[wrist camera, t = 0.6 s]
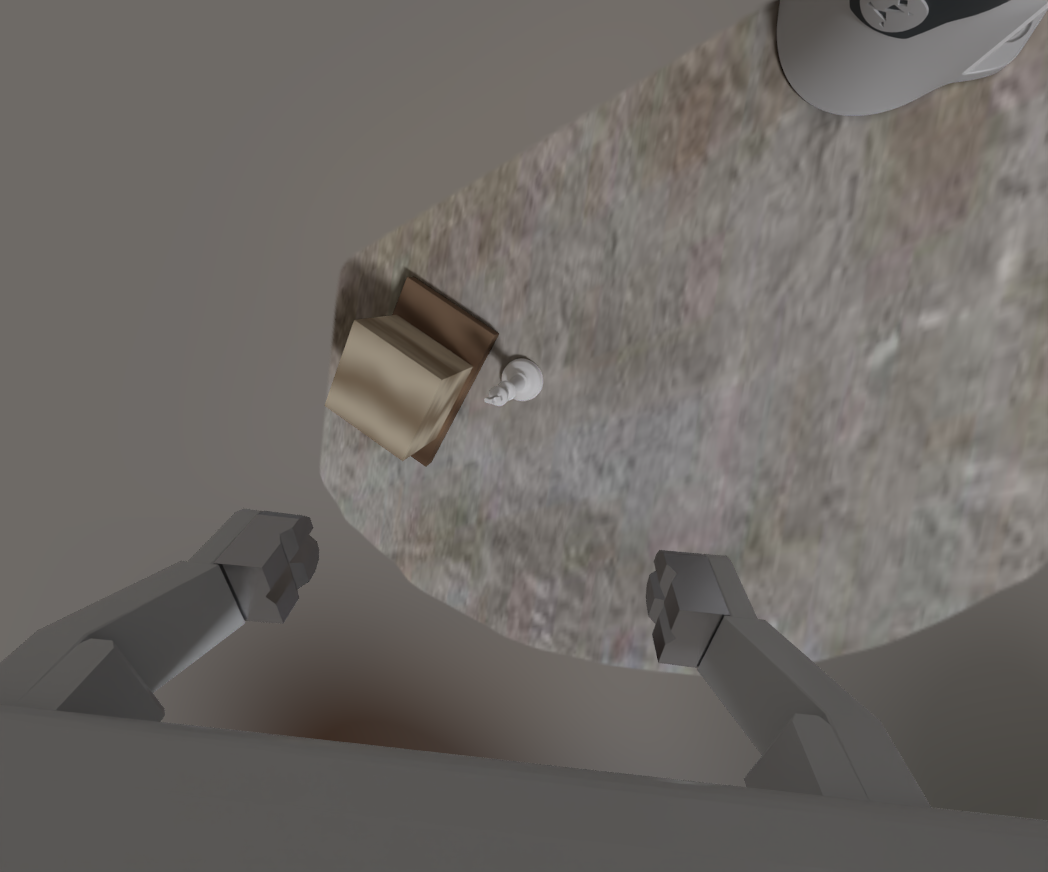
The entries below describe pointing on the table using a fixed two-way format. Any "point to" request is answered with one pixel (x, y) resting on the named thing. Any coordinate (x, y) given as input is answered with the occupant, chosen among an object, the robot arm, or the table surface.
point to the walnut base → (410, 371)
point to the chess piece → (517, 383)
